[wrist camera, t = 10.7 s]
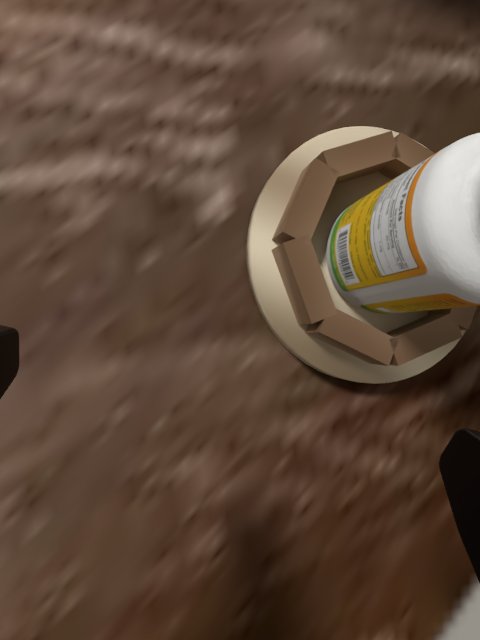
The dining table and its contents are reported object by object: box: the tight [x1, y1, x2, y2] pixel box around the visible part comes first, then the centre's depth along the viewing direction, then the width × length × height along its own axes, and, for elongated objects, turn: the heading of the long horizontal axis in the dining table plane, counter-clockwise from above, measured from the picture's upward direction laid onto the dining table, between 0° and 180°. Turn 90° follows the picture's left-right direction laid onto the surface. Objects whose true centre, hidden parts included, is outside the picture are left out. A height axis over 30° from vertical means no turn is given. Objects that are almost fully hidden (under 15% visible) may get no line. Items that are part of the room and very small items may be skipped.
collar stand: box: [246, 126, 477, 384], centre depth 20 cm, size 12×12×2 cm
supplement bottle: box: [326, 133, 480, 314], centre depth 16 cm, size 5×5×10 cm
